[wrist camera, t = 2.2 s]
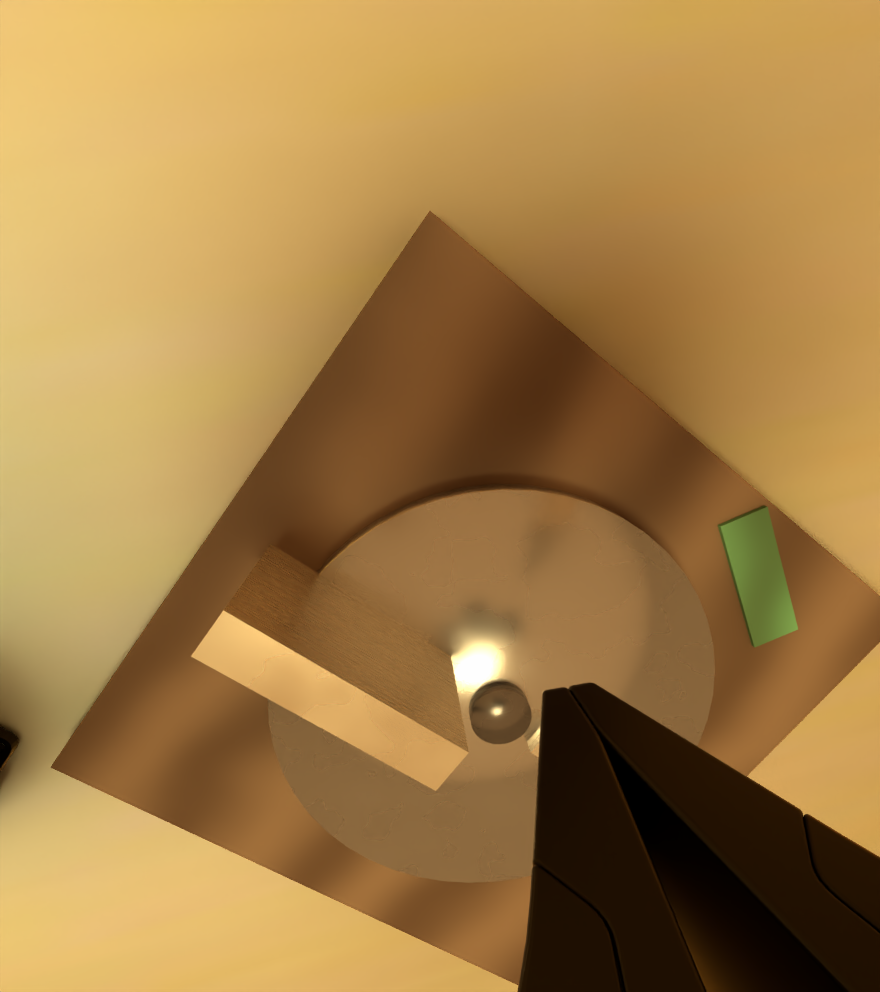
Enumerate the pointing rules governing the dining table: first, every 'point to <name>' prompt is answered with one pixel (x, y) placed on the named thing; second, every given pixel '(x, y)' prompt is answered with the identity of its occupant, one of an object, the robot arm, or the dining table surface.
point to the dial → (457, 665)
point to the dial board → (434, 469)
